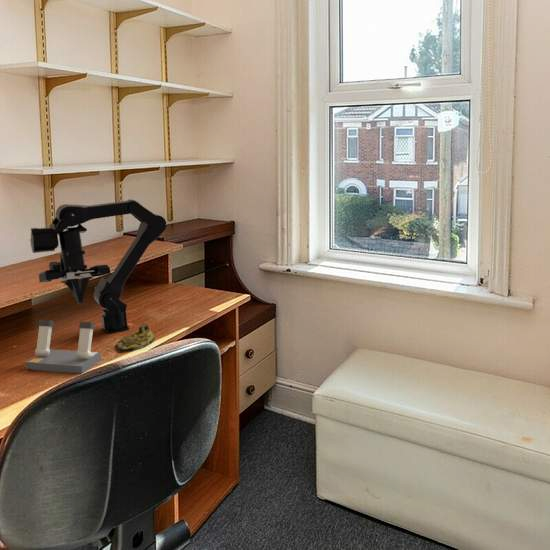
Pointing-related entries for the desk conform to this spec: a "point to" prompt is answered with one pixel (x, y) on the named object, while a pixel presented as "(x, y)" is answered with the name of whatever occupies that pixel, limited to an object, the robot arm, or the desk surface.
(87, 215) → the robot arm
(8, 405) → the desk surface
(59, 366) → the switch base
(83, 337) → the right lever
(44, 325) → the left lever
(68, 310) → the desk surface
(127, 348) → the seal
